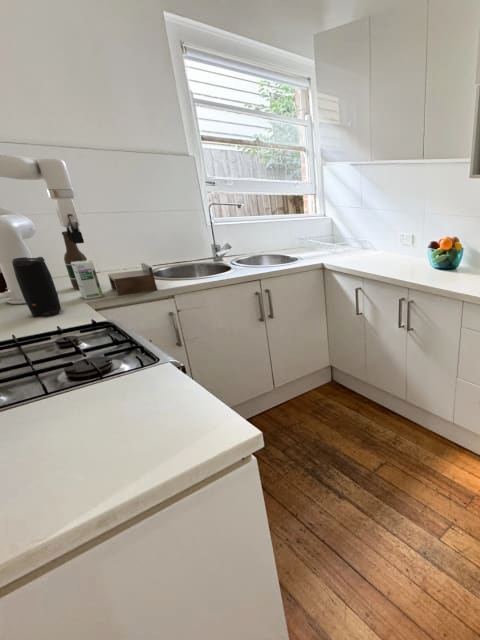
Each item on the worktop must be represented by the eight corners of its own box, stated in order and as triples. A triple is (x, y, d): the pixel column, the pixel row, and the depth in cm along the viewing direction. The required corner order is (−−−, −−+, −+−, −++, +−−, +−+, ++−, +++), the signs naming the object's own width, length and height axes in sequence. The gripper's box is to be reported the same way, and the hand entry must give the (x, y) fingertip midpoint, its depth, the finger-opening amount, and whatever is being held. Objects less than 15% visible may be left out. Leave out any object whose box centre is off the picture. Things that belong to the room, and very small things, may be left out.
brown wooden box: (118, 295, 158) (112, 271, 154) (112, 289, 166) (105, 266, 163) (157, 290, 167) (151, 267, 164) (149, 284, 176) (144, 263, 172)
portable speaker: (44, 318, 130) (23, 261, 122) (23, 316, 132) (1, 259, 124) (70, 311, 138) (51, 257, 130) (50, 309, 140) (31, 255, 132)
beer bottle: (99, 286, 172) (83, 231, 162) (81, 290, 165) (63, 233, 156) (86, 284, 173) (69, 230, 164) (68, 288, 166) (49, 232, 157)
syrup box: (86, 299, 152) (74, 263, 146) (81, 296, 155) (70, 261, 150) (103, 296, 156) (92, 261, 151) (98, 294, 159) (88, 259, 154)
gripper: (45, 194, 144) (61, 240, 151) (51, 195, 133) (67, 245, 140) (71, 194, 149) (85, 238, 156) (78, 195, 138) (93, 243, 145)
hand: (76, 241), depth 148 cm, fingers open, 9 cm apart
